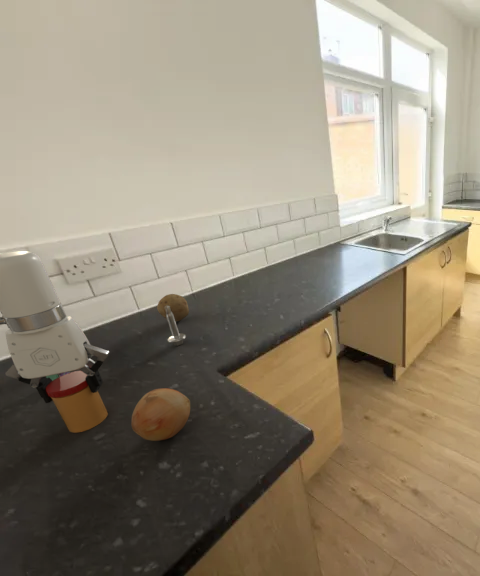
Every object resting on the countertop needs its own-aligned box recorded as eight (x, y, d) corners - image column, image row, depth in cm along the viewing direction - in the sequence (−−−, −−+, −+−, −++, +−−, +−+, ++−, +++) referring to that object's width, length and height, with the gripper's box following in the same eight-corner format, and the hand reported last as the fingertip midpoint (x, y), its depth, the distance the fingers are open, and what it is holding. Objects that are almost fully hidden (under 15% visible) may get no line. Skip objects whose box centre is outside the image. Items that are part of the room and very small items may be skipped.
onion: (203, 429, 66) (191, 391, 62) (147, 461, 59) (129, 420, 55) (187, 407, 72) (174, 371, 68) (134, 434, 65) (117, 396, 61)
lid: (76, 396, 63) (73, 390, 62) (38, 399, 62) (35, 393, 62) (101, 374, 69) (99, 368, 69) (67, 377, 68) (64, 371, 68)
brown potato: (164, 318, 114) (155, 292, 110) (192, 312, 118) (185, 287, 114) (161, 329, 106) (152, 302, 103) (191, 322, 110) (183, 296, 106)
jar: (66, 438, 65) (44, 398, 61) (70, 418, 70) (50, 381, 66) (107, 422, 69) (89, 384, 65) (108, 405, 73) (91, 368, 70)
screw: (189, 343, 98) (172, 349, 94) (184, 337, 101) (167, 343, 98) (178, 305, 93) (159, 310, 90) (173, 300, 96) (154, 305, 93)
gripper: (-42, 337, 53) (8, 418, 60) (85, 317, 59) (118, 393, 66) (-10, 318, 60) (32, 393, 67) (102, 301, 66) (130, 372, 72)
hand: (75, 392), depth 66 cm, fingers closed on lid, 6 cm apart
